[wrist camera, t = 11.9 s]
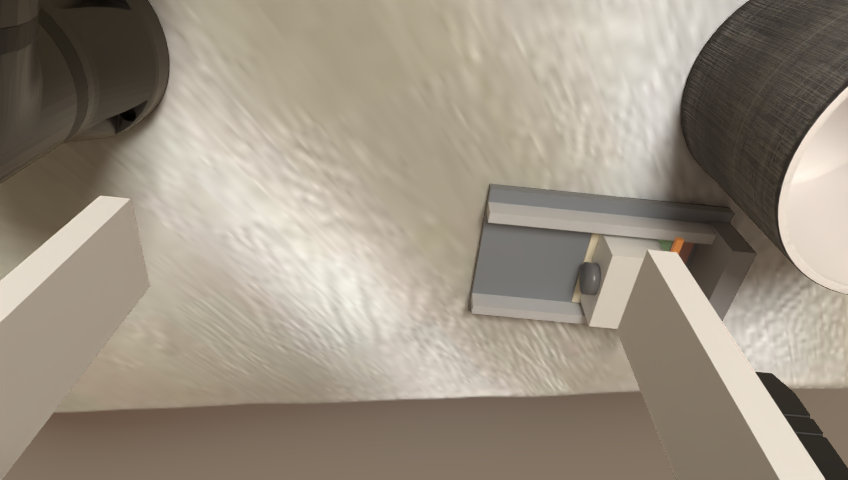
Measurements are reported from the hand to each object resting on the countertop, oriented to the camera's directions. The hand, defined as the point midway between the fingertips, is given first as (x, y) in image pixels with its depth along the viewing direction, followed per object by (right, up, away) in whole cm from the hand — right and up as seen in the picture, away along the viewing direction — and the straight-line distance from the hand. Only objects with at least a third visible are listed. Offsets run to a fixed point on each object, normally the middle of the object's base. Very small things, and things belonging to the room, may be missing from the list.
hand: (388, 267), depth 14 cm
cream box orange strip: (+19, -2, +38) cm, 42 cm away
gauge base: (+17, -1, +39) cm, 42 cm away
